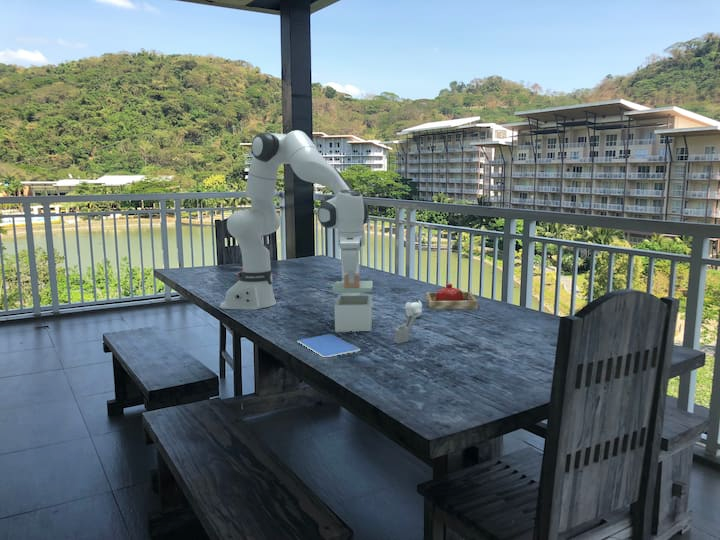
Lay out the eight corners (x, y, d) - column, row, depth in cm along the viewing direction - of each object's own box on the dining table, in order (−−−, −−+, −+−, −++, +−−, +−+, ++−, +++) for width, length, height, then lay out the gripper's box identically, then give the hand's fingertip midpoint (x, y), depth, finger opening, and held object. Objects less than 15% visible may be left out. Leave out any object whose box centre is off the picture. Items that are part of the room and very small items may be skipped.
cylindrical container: (358, 306, 219) (356, 243, 215) (340, 305, 221) (339, 243, 217) (361, 302, 226) (360, 241, 222) (344, 301, 228) (343, 241, 223)
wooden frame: (429, 309, 212) (429, 301, 211) (426, 299, 229) (426, 292, 228) (477, 308, 211) (477, 301, 210) (470, 298, 228) (470, 291, 227)
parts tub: (335, 331, 183) (334, 305, 182) (339, 319, 199) (338, 295, 197) (371, 331, 183) (370, 305, 181) (372, 319, 198) (371, 294, 197)
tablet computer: (361, 353, 162) (361, 348, 162) (323, 360, 156) (323, 356, 156) (331, 337, 179) (331, 333, 179) (296, 343, 173) (295, 339, 172)
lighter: (398, 343, 169) (398, 318, 167) (394, 342, 170) (394, 317, 169) (416, 339, 173) (416, 315, 171) (412, 338, 174) (412, 313, 173)
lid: (332, 293, 180) (331, 276, 180) (336, 286, 197) (336, 270, 197) (371, 293, 180) (371, 276, 179) (372, 285, 197) (372, 269, 196)
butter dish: (429, 305, 219) (429, 284, 218) (444, 300, 228) (444, 280, 226) (453, 309, 212) (454, 287, 210) (469, 303, 220) (469, 283, 219)
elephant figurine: (412, 320, 196) (412, 304, 195) (399, 316, 202) (399, 300, 201) (427, 317, 199) (427, 301, 198) (414, 313, 206) (413, 297, 205)
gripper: (343, 236, 190) (344, 276, 192) (339, 244, 170) (340, 287, 172) (362, 236, 189) (362, 276, 192) (359, 243, 169) (360, 287, 172)
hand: (351, 281), depth 182 cm, fingers closed on lid
